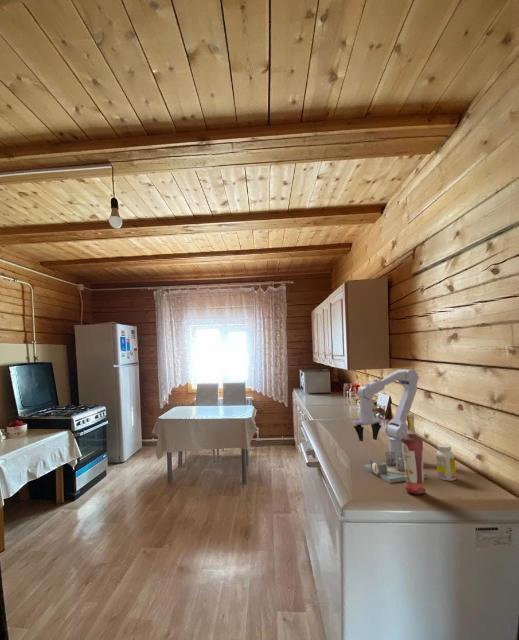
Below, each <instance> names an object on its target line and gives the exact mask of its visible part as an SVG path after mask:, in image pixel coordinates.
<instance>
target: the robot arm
mask: <svg viewBox="0 0 519 640" xmlns="http://www.w3.org/2000/svg"><path fill="white" fill-rule="evenodd" d="M419 377H420V376H419V374H418V372H417V371H416V370H415V369H404V368H403V369H402V368H398V369H397V370H394V371H393V372H392V373H390V374H389V375H386V377H384V378H382V379H380V378H374V379H373V381H371V382H369V383H365V385H361V386H359V387H358V389H357V391H356V395H357V396H358V400H359V408H360V409H359V411H360V419H359V420H353V421H352V426H353V428H354V430H355V431H356V433H357V437H358V440H359V441H360V442H363V441H364V429H365V428H364V426H367V425H368V426H371V431H372V432H371V433H372V439H373V440H374V441H377V440H378V437H379V432H380V429H381V428H382V419H378V418H374V414H373V413H374V412H373V398H374V396H375V395H377V394H379V392H381V391H383V390H385V388H386V386H388V385H390V384H392V383H395V382H396V381H398V382H399V383H400V385H401V386H402V387H403V391H402V395H401V398H400V400H399V401H400V402H399V404H398V407H397V408H396V412H395V415H394V417H393V418H391V419H390V420H389V423H388V424H386V426H385V428H384V432H385V434H386V435H387V438H388V444H389V445H388V447H389V448H388V449H389V452H395V453H396V461H397V457H399V456H402V457H403V451H402V441H401V439H402V438H403V437H404V436H407V425H408V423H407V418H406V414H410V411H411V408H412V405H413V402H414V399H415V397H416V394H417V391H418V381H419Z"/></svg>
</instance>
